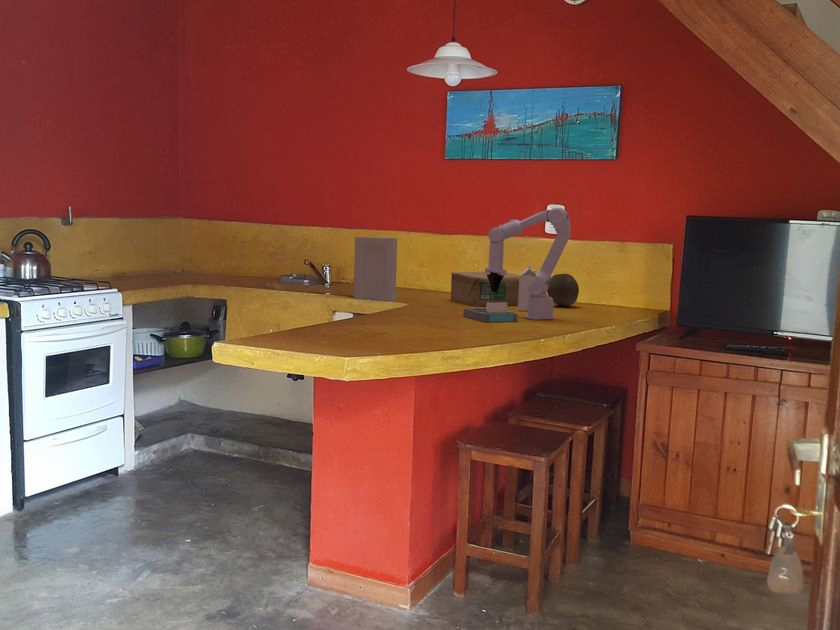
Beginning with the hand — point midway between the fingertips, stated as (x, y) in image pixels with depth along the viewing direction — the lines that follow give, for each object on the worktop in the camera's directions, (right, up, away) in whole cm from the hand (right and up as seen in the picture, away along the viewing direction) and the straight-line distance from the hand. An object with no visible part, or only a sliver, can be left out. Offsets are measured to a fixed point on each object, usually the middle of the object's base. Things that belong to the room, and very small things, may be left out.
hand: (494, 291), depth 326 cm
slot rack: (-3, -11, -11) cm, 15 cm away
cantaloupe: (+34, -6, +40) cm, 53 cm away
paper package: (+1, -4, +45) cm, 45 cm away
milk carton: (+16, -8, +22) cm, 28 cm away
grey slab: (-1, -11, -15) cm, 19 cm away
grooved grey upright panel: (-49, -2, +49) cm, 70 cm away
